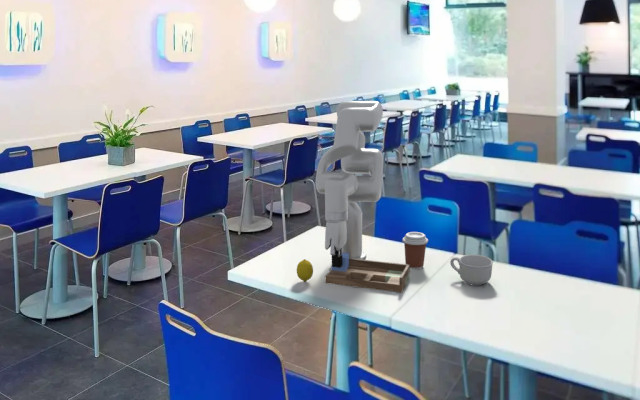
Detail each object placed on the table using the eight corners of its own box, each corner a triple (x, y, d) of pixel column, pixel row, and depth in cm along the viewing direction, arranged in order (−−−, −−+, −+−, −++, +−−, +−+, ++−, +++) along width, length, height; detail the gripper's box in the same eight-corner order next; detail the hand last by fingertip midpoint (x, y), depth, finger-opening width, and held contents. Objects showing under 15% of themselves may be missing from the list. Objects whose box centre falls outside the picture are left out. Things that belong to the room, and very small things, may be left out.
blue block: (335, 265, 200) (335, 252, 199) (349, 266, 198) (349, 253, 197) (331, 270, 195) (331, 256, 194) (345, 271, 194) (345, 257, 193)
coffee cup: (432, 267, 204) (433, 235, 201) (414, 272, 199) (415, 240, 196) (414, 260, 211) (415, 229, 209) (396, 265, 206) (397, 233, 204)
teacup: (497, 281, 190) (498, 259, 188) (481, 291, 182) (483, 267, 180) (460, 272, 199) (461, 250, 197) (443, 280, 191) (444, 258, 190)
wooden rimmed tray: (337, 270, 202) (337, 256, 201) (409, 278, 194) (409, 264, 192) (325, 283, 190) (325, 269, 189) (401, 292, 182) (401, 277, 181)
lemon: (311, 285, 189) (310, 262, 187) (295, 284, 190) (294, 261, 188) (314, 279, 194) (314, 257, 192) (299, 278, 195) (298, 256, 193)
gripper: (332, 207, 195) (333, 257, 200) (318, 220, 182) (319, 273, 186) (353, 209, 193) (354, 259, 198) (340, 222, 179) (341, 276, 184)
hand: (337, 266), depth 192 cm, fingers closed
